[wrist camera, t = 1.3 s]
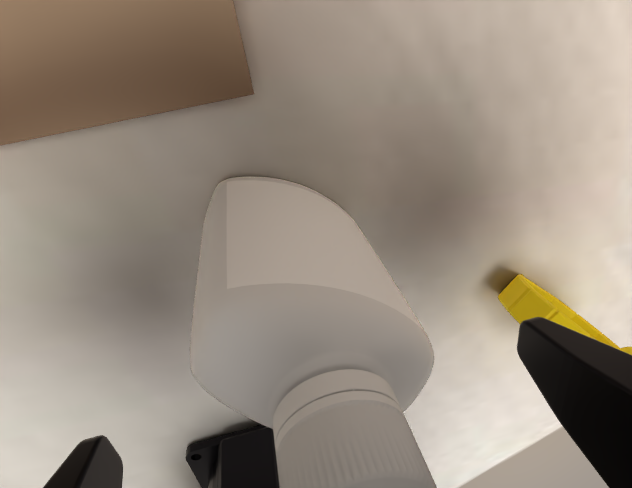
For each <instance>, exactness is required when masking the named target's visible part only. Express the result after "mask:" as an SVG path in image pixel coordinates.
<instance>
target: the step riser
mask: <svg viewBox="0 0 632 488" xmlns="http://www.w3.org/2000/svg"><path fill="white" fill-rule="evenodd" d="M252 94H254V91H253V87H252V82H251V78H250V73H249V69H248V65H247V60H246V56H245V51H244V47H243V43H242V38H241V34H240V29H239V25H238V21H237V16H236V12H235V7H234V3H233V0H0V145H5V144H10V143H15V142H20V141H25V140H30V139H35V138H40V137H44V136H49V135H54V134H59V133H64V132H69V131H74V130H79V129H84V128H89V127H94V126H99V125H104V124H109V123H114V122H119V121H123V120H128V119H133V118H138V117H143V116H148V115H153V114H158V113H163V112H168V111H173V110H178V109H183V108H188V107H193V106H198V105H203V104H207V103H212V102H217V101H222V100H227V99H232V98H237V97H242V96H247V95H252Z"/></svg>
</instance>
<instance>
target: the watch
mask: <svg viewBox="0 0 632 488" xmlns="http://www.w3.org/2000/svg"><path fill="white" fill-rule="evenodd" d="M498 299H499V301H500V302H501V303H502V305H503V306H504V307H505V309H506V310H507V311H508V312H509V313H510V314H511V315H512V316H513V317H514V318H515V319H516V320H517V321H518V322H519V323H520V324H521V323H522V321H524V320H527V319H531V318H535V317H543V318H545V319H548V320H550V321H553V322H555V323H557V324H560V325H562V326H564V327H567V328H569V329H571V330H574V331H576V332H579V333H581V334H583V335H586V336H588V337H590V338H593V339H595V340H597V341H600V342H602V343H605V344H607V345H609V346H612V347H614V348H616V349H619V350H621V351H623V352H626V353H628V354H631V355H632V347H624V348H619V347H618V346H617V345H616V344H615V343H613V342H612V341H611V340H610V339H609V338H607V337H606V336H605V335H604V334H602V333H601V332H600V331H599V330H597V329H596V328H595V327H594V326H592V325H591V324H590V323H589V322H587V321H586V320H585V319H583V318H582V317H581V316H580V315H578V314H576V312H574V311H573V310H572V309H570V308H569V307H568V306H566V305H565V304H564V303H562V302H561V301H560V300H558V299H557V298H556V297H554V296H553V295H551V294H550V293H548V292H547V291H545V290H544V289H542V288H541V287H539V286H537V285H536V284H534V283H533V282H531V281H530V280H528V279H527V278H525V277H524V276H523V275H522V274H521V275H517V276H516V277H515V278H514V279H513V280H512V281H511V283H510V284H509V285H508V286H507V287H506V288H505V289H504V290H503V291H502V292H501V293H500V294H499V295H498Z"/></svg>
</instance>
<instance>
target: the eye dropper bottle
mask: <svg viewBox="0 0 632 488" xmlns="http://www.w3.org/2000/svg"><path fill="white" fill-rule="evenodd" d="M190 364H191V371H192V374H193V376H194V378H195V379H196V380H197V381H198V383H199V384H200V385H201V386H202V388H203V389H204V390H206V391H207V392H208V393H209V394H211V395H212V396H213V397H215V398H216V399H217V400H219V401H220V402H222V403H223V404H225V405H226V406H228V407H230V408H231V409H233V410H235V411H236V412H238V413H240V414H242V415H244V416H245V417H247V418H249V419H251V420H253V421H256V422H258V423H260V424H262V425H264V426H267V427H269V428H272V429H273V433H274V442H275V450H276V459H277V468H278V477H279V486H280V488H437V487H436V485H435V482H434V480H433V478H432V476H431V473H430V471H429V469H428V467H427V465H426V462H425V460H424V458H423V456H422V454H421V451H420V449H419V447H418V445H417V443H416V440H415V438H414V436H413V434H412V431H411V429H410V427H409V425H408V423H407V420H406V418H405V416H404V414H403V412H404V411H405V410H406V409H407V408H408V407H409V406H410V405H411V403H412V402H413V401H414V400H415V398H416V397H417V396H418V394H419V393H420V391H421V390H422V388H423V387H424V385H425V384H426V382H427V380H428V378H429V376H430V374H431V371H432V368H433V364H434V352H433V349H432V346H431V343H430V341H429V339H428V336H427V334H426V332H425V331H424V329H423V327H422V326H421V324H420V323H419V321H418V319H417V318H416V316H415V314H414V313H413V311H412V309H411V308H410V306H409V304H408V303H407V301H406V300H405V298H404V297H403V295H402V293H401V292H400V290H399V289H398V287H397V286H396V284H395V282H394V281H393V279H392V278H391V276H390V275H389V273H388V271H387V270H386V268H385V267H384V265H383V264H382V262H381V261H380V259H379V257H378V256H377V254H376V253H375V251H374V250H373V248H372V247H371V245H370V244H369V242H368V240H367V239H366V237H365V236H364V234H363V233H362V231H361V230H360V228H359V227H358V225H357V224H356V222H355V221H354V220H353V219H352V217H351V216H350V215H349V214H348V213H347V212H346V211H344V210H343V209H342V208H341V207H340V206H338V205H337V204H336V203H334V202H333V201H332V200H330V199H329V198H327V197H325V196H324V195H322V194H320V193H318V192H316V191H315V190H312V189H310V188H308V187H305V186H303V185H300V184H297V183H294V182H290V181H286V180H281V179H276V178H269V177H234V178H228V179H226V180H224V181H222V182H220V183H219V184H218V185H217V187H216V188H215V190H214V192H213V195H212V198H211V201H210V204H209V207H208V210H207V213H206V216H205V220H204V224H203V231H202V239H201V247H200V256H199V264H198V273H197V282H196V290H195V299H194V308H193V317H192V328H191V340H190Z"/></svg>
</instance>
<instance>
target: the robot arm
mask: <svg viewBox="0 0 632 488" xmlns="http://www.w3.org/2000/svg"><path fill="white" fill-rule="evenodd" d="M517 351H518V355H519V357H520V359H521V361H522V362H523V364H524V365H525V367H526V369H527V370H528V372H529V374H530V375H531V377H532V378H533V380H534V382H535V383H536V385H537V387H538V388H539V390H540V391H541V393H542V395H543V396H544V398H545V400H546V401H547V403H548V404H549V406H550V408H551V409H552V411H553V412H554V414H555V415H556V417H557V419H558V420H559V422H560V423H561V424H562V426H563V427H564V428H565V430H566V431H567V432H568V434H569V435H570V436H571V438H572V439H573V440H574V442H575V443H576V444H577V446H578V447H579V448H580V450H581V451H582V452H583V454H584V455H585V456H586V458H587V459H588V460H589V461H590V463H591V464H592V465H593V467H594V468H595V470H596V471H597V472H598V473H599V475H600V476H601V477H602V479H603V480H604V481H605V483H606V484H607V485H608V486H609V488H632V355H631V354H628V353H626V352H623V351H621V350H619V349H616V348H614V347H612V346H609V345H607V344H605V343H602V342H600V341H597V340H595V339H593V338H590V337H588V336H586V335H583V334H581V333H579V332H576V331H574V330H571V329H569V328H567V327H564V326H562V325H560V324H557V323H555V322H553V321H550V320H548V319H545V318H543V317H535V318H531V319H527V320H524V321H522V323H521V324H520V328H519V336H518V344H517ZM186 461H187V462H188V464H189V466H190V468H191V469H192V471H193V473H194V475H195V476H196V478H197V480H198V482H199V484H200V485H201V487H202V488H280V486H279V477H278V468H277V459H276V450H275V442H274V433H273V429H272V428H269V427H267V426H264V425H260V426H256V427H253V428H249V429H245V430H242V431H238V432H235V433H231V434H227V435H224V436H220V437H217V438H213V439H209V440H206V441H202V442H199V443H195V444H192V445H190V446H189V447H188V448H187V450H186ZM122 478H123V464H122V460H121V457H120V456H119V454H118V453H117V451H116V450H115V449H114V447H113V446H112V444H111V443H110V441H109V440H108V439H107V437H105V436H103V435H100V436H96V437H93V438H89V439H85V440H83V441H81V442H80V443H79V444H78V445H77V446H76V448H75V449H74V450H73V451H72V452H71V454H70V455H69V456H68V457H67V459H66V460H65V461H64V462H63V464H62V465H61V466H60V467H59V468H58V470H57V471H56V472H55V473H54V475H53V476H52V477H51V478H50V480H49V481H48V482H47V483H46V485H45V486H44V487H43V488H122Z"/></svg>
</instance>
